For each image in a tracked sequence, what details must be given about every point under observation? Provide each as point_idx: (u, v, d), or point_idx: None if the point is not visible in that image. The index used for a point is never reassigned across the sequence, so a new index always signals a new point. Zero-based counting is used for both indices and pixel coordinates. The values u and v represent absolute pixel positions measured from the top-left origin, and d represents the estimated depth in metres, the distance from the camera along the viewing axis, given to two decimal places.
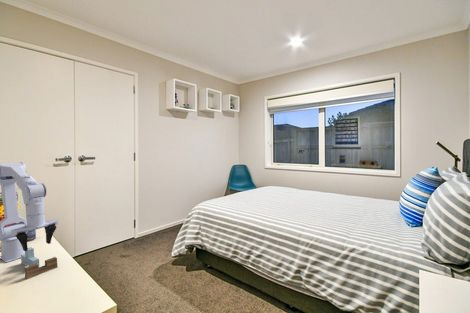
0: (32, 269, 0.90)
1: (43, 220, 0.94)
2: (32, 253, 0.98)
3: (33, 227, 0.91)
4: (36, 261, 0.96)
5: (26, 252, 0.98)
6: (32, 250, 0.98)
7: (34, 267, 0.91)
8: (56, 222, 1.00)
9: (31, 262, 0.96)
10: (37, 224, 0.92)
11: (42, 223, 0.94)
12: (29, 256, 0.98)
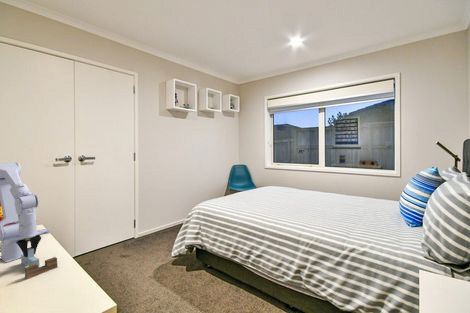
0: (32, 269, 0.90)
1: (35, 229, 0.99)
2: (32, 253, 0.98)
3: (25, 236, 0.96)
4: (36, 261, 0.96)
5: None
6: (32, 250, 0.98)
7: (34, 267, 0.91)
8: (48, 231, 1.04)
9: (31, 262, 0.96)
10: (29, 233, 0.97)
11: (34, 232, 0.98)
12: (29, 256, 0.98)
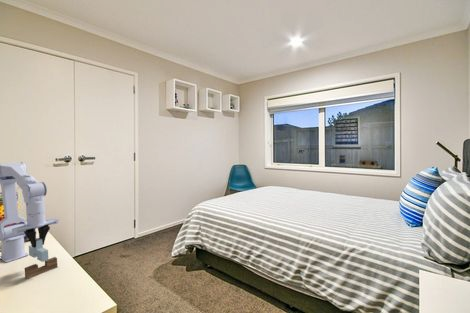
0: (32, 269, 0.90)
1: (43, 219, 0.94)
2: (40, 244, 0.94)
3: (33, 226, 0.91)
4: (45, 252, 0.92)
5: None
6: (41, 241, 0.94)
7: (34, 267, 0.91)
8: (57, 221, 0.99)
9: (40, 253, 0.91)
10: (37, 223, 0.92)
11: (42, 222, 0.94)
12: (37, 247, 0.93)
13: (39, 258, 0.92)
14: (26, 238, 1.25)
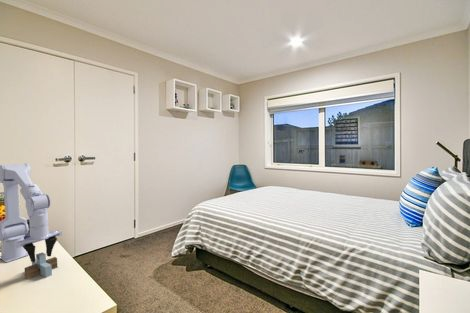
0: (32, 269, 0.90)
1: (47, 231, 0.93)
2: (44, 259, 0.93)
3: (37, 239, 0.90)
4: (48, 267, 0.91)
5: (38, 258, 0.92)
6: (44, 256, 0.93)
7: (34, 267, 0.91)
8: (60, 233, 0.98)
9: (43, 268, 0.90)
10: (41, 236, 0.91)
11: (46, 235, 0.93)
12: (41, 262, 0.92)
13: (42, 273, 0.91)
14: (26, 238, 1.25)
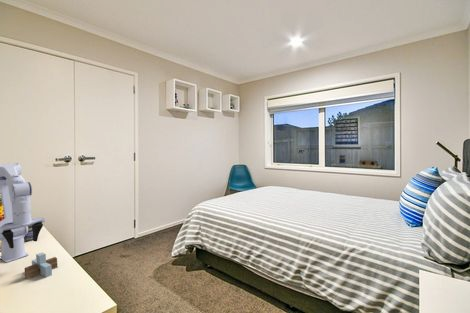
0: (32, 269, 0.90)
1: (29, 218, 0.96)
2: (44, 259, 0.93)
3: (19, 225, 0.93)
4: (48, 267, 0.91)
5: (38, 258, 0.92)
6: (44, 256, 0.93)
7: (34, 267, 0.91)
8: (43, 220, 1.01)
9: (43, 268, 0.90)
10: (23, 222, 0.94)
11: (28, 221, 0.96)
12: (41, 262, 0.92)
13: (42, 273, 0.91)
14: (26, 238, 1.25)
